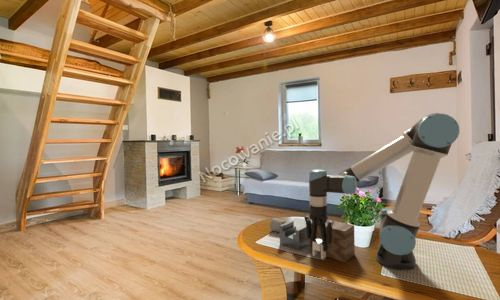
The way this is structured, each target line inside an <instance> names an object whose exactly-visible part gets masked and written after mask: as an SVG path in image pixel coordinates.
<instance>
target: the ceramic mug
mask: <svg viewBox="0 0 500 300" xmlns="http://www.w3.org/2000/svg"><path fill="white" fill-rule="evenodd" d="M286 222H287V221H285V220H284V219H281V218H280V219H279V218H278V217H277V218H276V217H272V218H271V220H270V223H269V229H270V231H271V232H277V233H280V227H279V225H282V224H284V223H286Z"/></svg>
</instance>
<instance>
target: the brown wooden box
mask: <svg viewBox="0 0 500 300" xmlns="http://www.w3.org/2000/svg"><path fill="white" fill-rule="evenodd" d="M329 220H330V221H333V222H334V223H333V226H332V241H331V244H330V245H329V246H327V251H326V257H328V258H330V259H334V260H336V261H340V262H343V263H347V262H348V261H349V260H350V259H351V258H352V257H353V256H355V225H354V224H349V223H345V222H339V221H336V220H331V219H329ZM325 226H326V227H325V229H326V235H327V222H326V223H325ZM311 230H312V221H311ZM319 237H321V232H320V229H319V226H317V232H316V239H317V238H319ZM316 239H315V240H316ZM309 243H310V245H309V252H312V253H313V248H312V247H311V240H310V239H309ZM318 254H319V255H321V251H317V255H318Z"/></svg>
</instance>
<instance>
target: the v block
mask: <svg viewBox="0 0 500 300" xmlns="http://www.w3.org/2000/svg"><path fill="white" fill-rule="evenodd" d="M285 222H286V223H284V224H282V225H279V227H280V232H279V244H280V245H281V246H285V247H286V248H287V247H288V248H290V249H293V250H297V251H301V250H303V249H305V248H306V247H308V246H310V243H309V239H308V238H307V232H306V224H304V225H302V226H300V227H298V228H297V225H295V223H294V222H295V221H293V220H289V221H285Z"/></svg>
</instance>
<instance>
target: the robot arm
mask: <svg viewBox="0 0 500 300" xmlns="http://www.w3.org/2000/svg"><path fill="white" fill-rule="evenodd" d="M402 133H403V134H402V135H401V136H400V137H398V138H396V139H395V140H393V141H392V142H390V143H388V144H386V145H384V146H383V147H381V148H379V149H378V150H376V151H375V152H373V153H372V154H370V155H368V156H366V157H365V158H363V159H362V160H360V161H358V162H357V163H355V164H353V165H351V166H349V167H347V169H344V170H342V171H341V172H339V173H338V175H337V174H335V175H331V174H328V173H327V170H325V169H312V170H310V171H309V173H308V177H309V178H308V183H309V184H308V187H309V190H308V191H309V215H306V216H304V221H305V225H306V232H307V238H308V239H310V240H311V247H312V248H313V243H312V241H314V240H315V239H316V232H317V226H319V229H320V232H321V237H322V244H321V254H320V259H322V260H324V259H325V258H326V257H327V256H326V251H327V244H329V243H331V241H332V226H333V223H334V222H333V221H334V220H332V221H330V220H331V219H329V217H328V205H327V204H328V193H333V194H345V195H353V194H356V193H357V185H358V184H357V183H359V182H360V181H363V180H364V179H366V178H368V177H370V176H372V175H373V174H374V173H377V172H379V171H380V170H382V169H384V168H386V167H387V166H390V165H391V164H393V163H395V162H396V161H398V160H400V159H402V158H404V157H406V156H408V155H409V154H411V153H412V155H411V157H410V161H409V163H408V165H407V168H406V171H405V174H404V177H403V179H402V183H401V186H400V188H399V190H398V193H397V196H396V199H395V202H394V205H393V206H392V208H389V207H388V208H387V207H386V208H381V210H380V212H379V217H380V220H379V221H380V224H379V232H378V233H379V235H378V236H379V237H378V239H379V242H380V243H379V245H378V248H377V250H376V254H375V255H376V260H377V262H378V263H379V264H381V265H382V266H385V267H387V266H388V268H390V267H392V268H391V269H394V268H396V270H401V269H408V270H413V269H414V268H416V265H417V261H416V257H415V254H414V250H415V247H416V244H417V239H416V237H417V234H418V232H419V230H420V227H421V223H420V221H419V220H418V218H419V216H420V213H421V210H422V208H423V205H424V202H425V200H426V198H427V195H428V192H429V190H430V188H431V184H432V181H433V179H434V176H435V174H436V172H437V169H438V166H439V165H440V161H441V159H442V158H445V157H446V156H448V155H449V152H450V150H451V147H452V145H453V144H454V142H456V140H457V139H458V137H459V135H460V125H459V123H458V121H457V120H456V119H455V118H454V117H453V116H451V115H449V114H445V113H439V112H433V113H430V114H428V115H426V116H424V117H422V118H420V119H419V120H418V121H417V122H416V123H415V124H414V125H412V126H411V127H410V128H408V129H406V130H405V131H403V132H402ZM311 222H312V230H311ZM326 222H327V235H326V229H325V227H326V226H325V223H326ZM316 255H318V253H317V250H314V249H313V252H312V256H313V257H315V256H316Z"/></svg>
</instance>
